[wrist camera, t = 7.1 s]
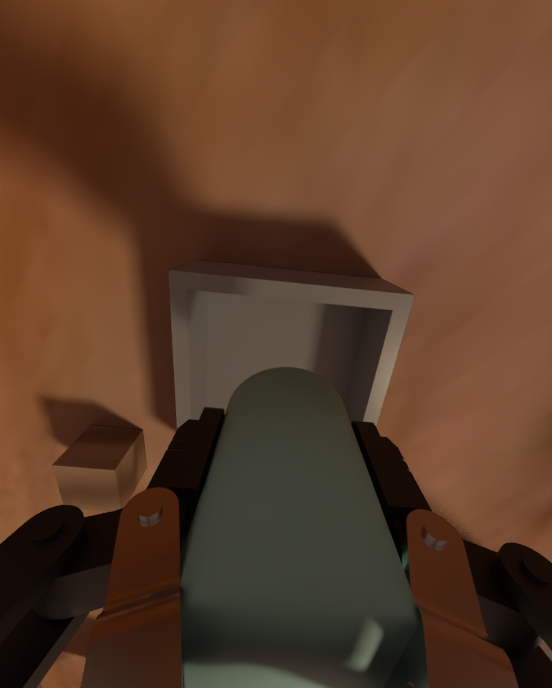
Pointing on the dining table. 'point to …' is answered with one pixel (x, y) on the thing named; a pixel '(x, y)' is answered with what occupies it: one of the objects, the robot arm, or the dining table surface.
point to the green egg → (291, 550)
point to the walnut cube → (101, 468)
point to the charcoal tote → (282, 332)
